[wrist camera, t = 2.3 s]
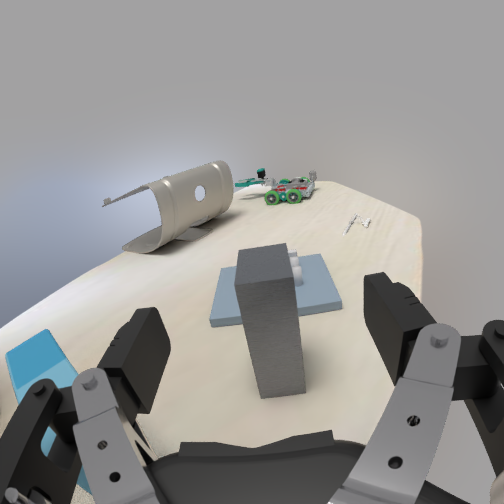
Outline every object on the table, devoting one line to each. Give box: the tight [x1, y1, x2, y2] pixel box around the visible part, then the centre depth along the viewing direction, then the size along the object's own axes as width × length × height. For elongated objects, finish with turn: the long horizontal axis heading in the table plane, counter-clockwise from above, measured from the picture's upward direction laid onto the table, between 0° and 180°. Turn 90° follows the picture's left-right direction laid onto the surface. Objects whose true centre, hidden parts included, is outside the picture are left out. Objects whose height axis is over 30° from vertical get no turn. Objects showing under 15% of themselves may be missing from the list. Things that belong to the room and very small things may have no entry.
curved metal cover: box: [102, 161, 233, 253], centre depth 72 cm, size 26×24×16 cm
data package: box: [5, 329, 93, 496], centre depth 16 cm, size 12×4×12 cm, turn 52°
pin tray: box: [209, 249, 342, 327], centre depth 41 cm, size 16×14×4 cm
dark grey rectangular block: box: [234, 243, 306, 399], centre depth 25 cm, size 4×6×12 cm, turn 0°
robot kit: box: [235, 168, 317, 205], centre depth 91 cm, size 19×25×9 cm
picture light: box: [342, 213, 371, 236], centre depth 60 cm, size 14×4×2 cm, turn 150°
